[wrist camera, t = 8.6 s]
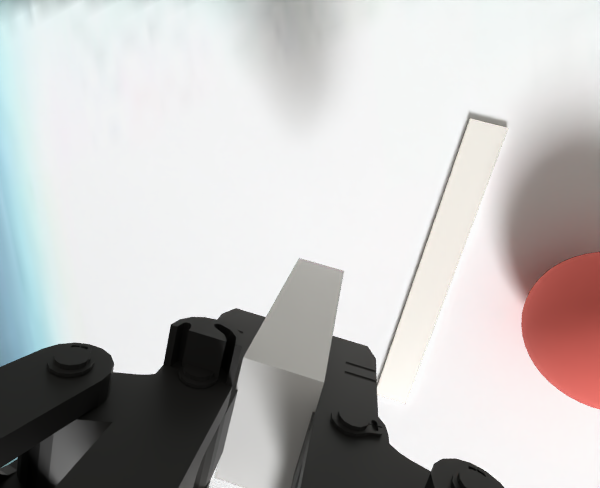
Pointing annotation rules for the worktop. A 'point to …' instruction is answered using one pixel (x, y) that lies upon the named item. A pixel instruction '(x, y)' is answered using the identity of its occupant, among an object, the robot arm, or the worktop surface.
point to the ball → (567, 327)
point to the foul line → (441, 256)
